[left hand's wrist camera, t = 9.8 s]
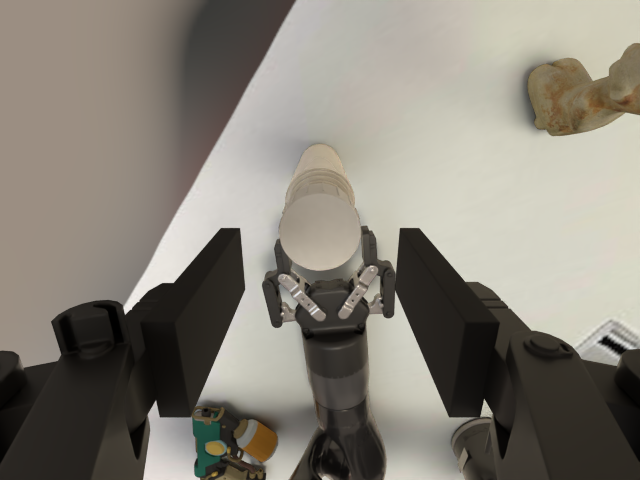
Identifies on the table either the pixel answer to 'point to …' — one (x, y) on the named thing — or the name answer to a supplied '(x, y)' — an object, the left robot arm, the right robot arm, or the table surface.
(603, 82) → the sculpture
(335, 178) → the bottle
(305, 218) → the cap
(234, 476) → the spray gun
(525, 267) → the table surface
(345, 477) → the right robot arm
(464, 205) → the table surface
